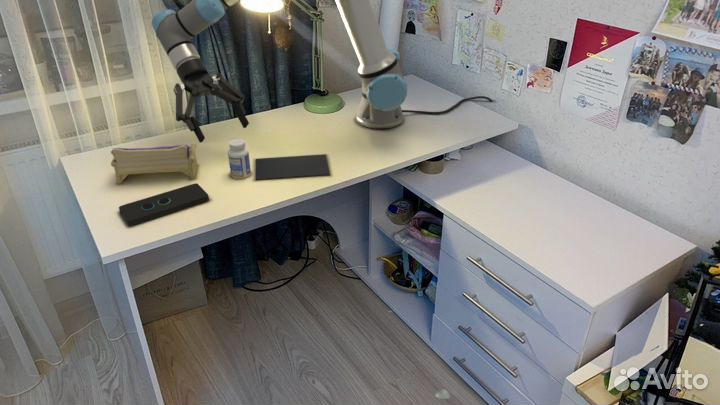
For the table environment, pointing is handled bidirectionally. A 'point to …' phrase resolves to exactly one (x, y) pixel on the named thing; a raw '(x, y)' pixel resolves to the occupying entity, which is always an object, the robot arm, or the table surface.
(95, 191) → the table surface
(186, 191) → the smart home device
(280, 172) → the mat
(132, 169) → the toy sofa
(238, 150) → the pill bottle
